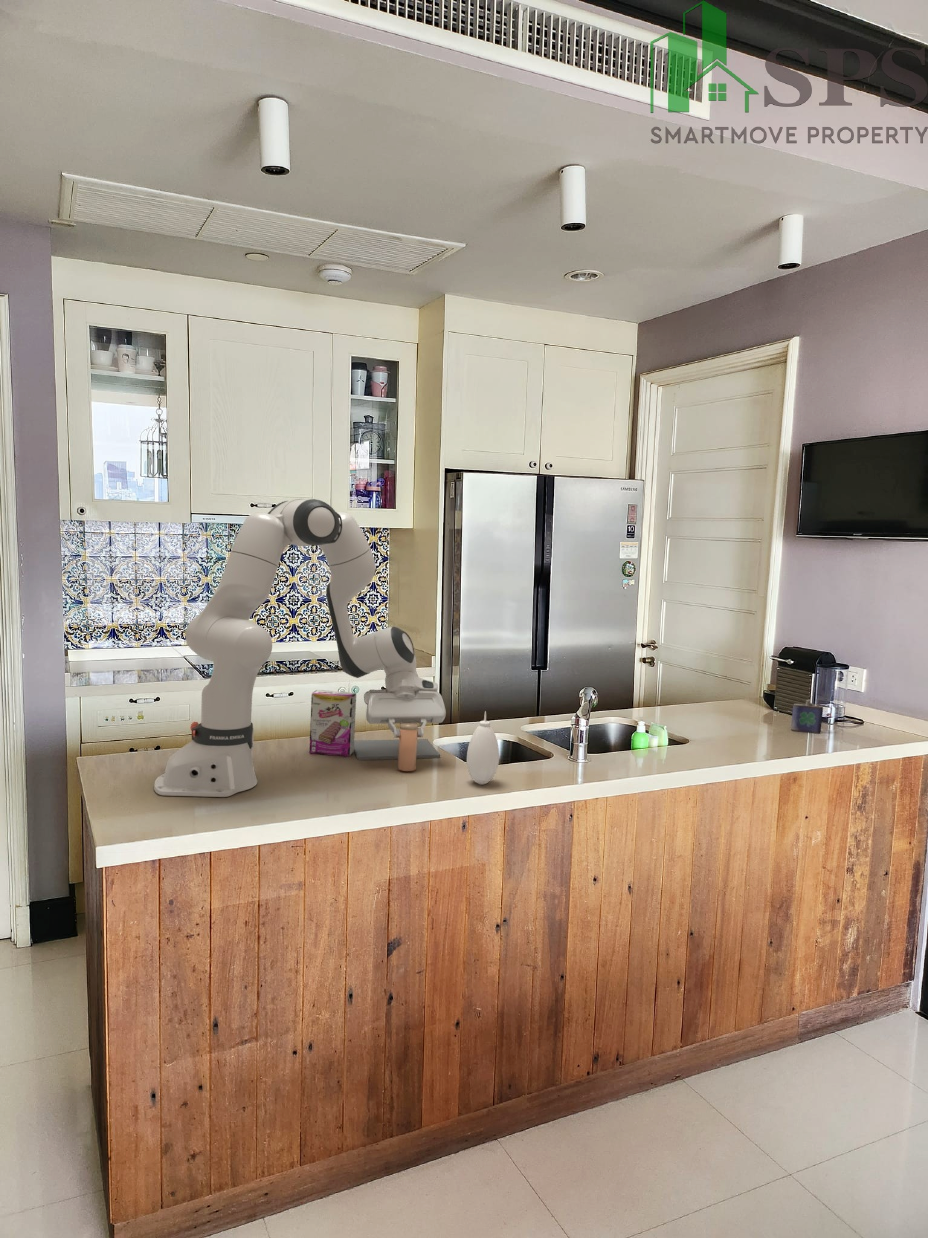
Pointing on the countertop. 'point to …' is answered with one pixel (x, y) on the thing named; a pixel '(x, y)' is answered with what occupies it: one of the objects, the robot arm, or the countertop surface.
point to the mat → (390, 749)
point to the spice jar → (407, 746)
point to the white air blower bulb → (483, 753)
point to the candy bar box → (332, 723)
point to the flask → (807, 718)
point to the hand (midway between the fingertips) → (408, 736)
